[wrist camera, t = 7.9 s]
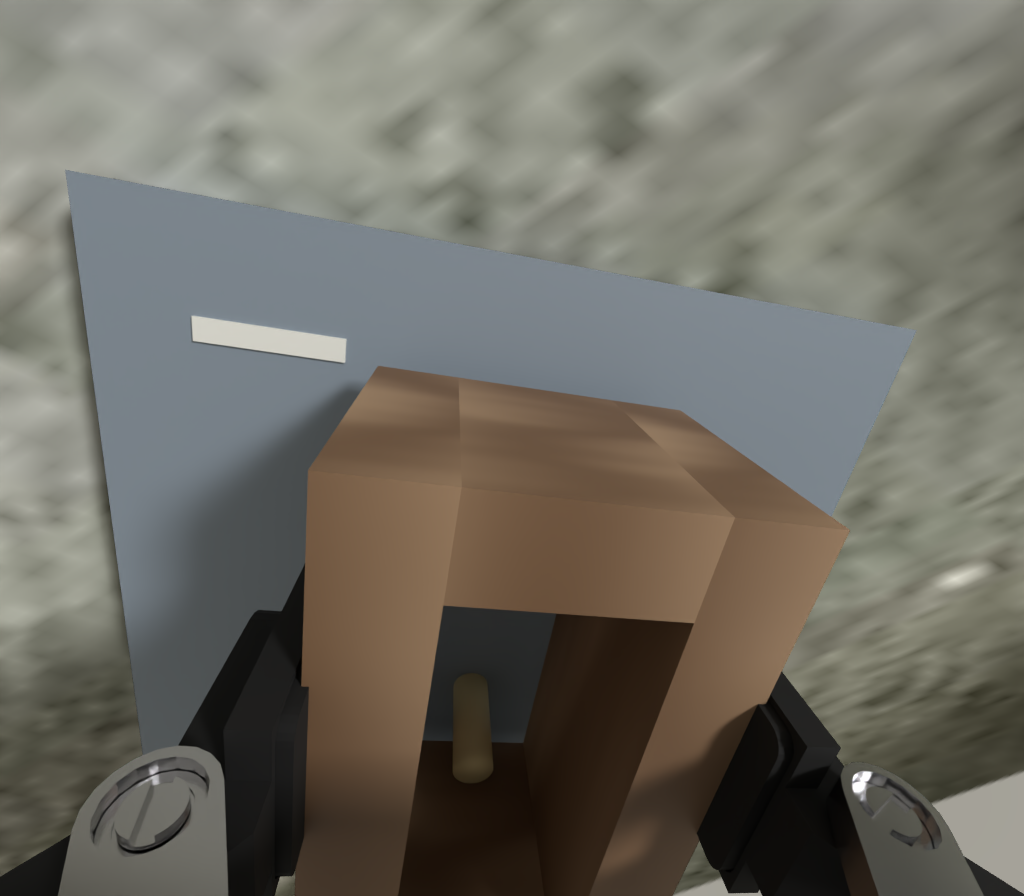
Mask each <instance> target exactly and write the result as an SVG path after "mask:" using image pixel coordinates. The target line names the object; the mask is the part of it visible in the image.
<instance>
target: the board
mask: <svg viewBox="0 0 1024 896" xmlns="http://www.w3.org/2000/svg"><path fill="white" fill-rule="evenodd" d="M65 171H66V179H67V186H68V194H69V201H70V209H71V216H72V224H73V232H74V239H75V247H76V254H77V262H78V269H79V277H80V284H81V292H82V299H83V307H84V314H85V322H86V329H87V337H88V345H89V352H90V360H91V367H92V375H93V382H94V390H95V397H96V405H97V412H98V420H99V427H100V435H101V443H102V450H103V458H104V465H105V473H106V480H107V488H108V495H109V503H110V510H111V518H112V525H113V533H114V541H115V548H116V556H117V563H118V571H119V578H120V586H121V593H122V601H123V608H124V616H125V623H126V631H127V638H128V646H129V654H130V661H131V669H132V676H133V684H134V691H135V699H136V706H137V714H138V721H139V729H140V736H141V744H142V752H143V755H145V754H147V753H150V752H152V751H155V750H157V749H162V748H168V747H173V746H178V745H179V743H180V741H181V739H182V738H183V736H184V734H185V732H186V730H187V729H188V727H189V725H190V723H191V722H192V720H193V718H194V716H195V715H196V713H197V711H198V709H199V708H200V706H201V704H202V702H203V701H204V699H205V697H206V695H207V693H208V692H209V690H210V688H211V686H212V685H213V683H214V681H215V679H216V678H217V676H218V674H219V672H220V671H221V669H222V667H223V665H224V664H225V662H226V660H227V658H228V656H229V655H230V653H231V651H232V649H233V648H234V646H235V644H236V642H237V641H238V639H239V637H240V635H241V634H242V632H243V630H244V628H245V627H246V625H247V623H248V621H249V619H250V618H251V616H252V615H253V614H254V612H256V611H257V610H270V611H282V609H283V607H284V605H285V603H286V601H287V599H288V597H289V595H290V593H291V591H292V589H293V587H294V585H295V583H296V581H297V579H298V577H299V575H300V573H301V571H302V569H303V566H304V564H305V552H306V520H307V488H308V470H309V468H310V467H311V465H312V464H313V462H314V461H315V459H316V458H317V456H318V455H319V453H320V452H321V450H322V449H323V447H324V446H325V444H326V443H327V441H328V440H329V438H330V437H331V435H332V434H333V432H334V431H335V429H336V428H337V426H338V425H339V423H340V422H341V420H342V419H343V417H344V416H345V414H346V413H347V411H348V410H349V408H350V407H351V405H352V404H353V402H354V401H355V399H356V398H357V396H358V395H359V393H360V392H361V390H362V389H363V387H364V386H365V385H366V383H367V382H368V380H369V379H370V377H371V376H372V374H373V373H374V371H375V370H376V368H377V367H378V366H384V367H391V368H397V369H404V370H411V371H418V372H425V373H431V374H438V375H445V376H452V377H458V378H465V379H472V380H479V381H485V382H492V383H499V384H506V385H512V386H519V387H526V388H533V389H540V390H546V391H553V392H560V393H567V394H573V395H580V396H587V397H594V398H600V399H607V400H614V401H621V402H627V403H634V404H641V405H648V406H654V407H661V408H668V409H675V410H681V411H682V412H684V413H685V414H686V415H688V416H689V417H691V418H692V419H693V420H695V421H696V422H698V423H699V424H701V425H702V426H703V427H705V428H706V429H708V430H709V431H710V432H712V433H713V434H715V435H716V436H718V437H719V438H720V439H722V440H723V441H725V442H726V443H727V444H729V445H730V446H732V447H733V448H734V449H736V450H737V451H739V452H740V453H742V454H743V455H744V456H746V457H747V458H749V459H750V460H751V461H753V462H754V463H756V464H757V465H759V466H760V467H761V468H763V469H764V470H766V471H767V472H768V473H770V474H771V475H773V476H774V477H775V478H777V479H778V480H780V481H781V482H783V483H784V484H785V485H787V486H788V487H790V488H791V489H792V490H794V491H795V492H797V493H798V494H800V495H801V496H802V497H804V498H805V499H807V500H808V501H809V502H811V503H812V504H814V505H815V506H817V507H818V508H819V509H821V510H822V511H824V512H825V513H826V514H828V515H829V516H832V514H833V512H834V510H835V508H836V505H837V503H838V501H839V499H840V497H841V495H842V492H843V490H844V488H845V486H846V484H847V481H848V479H849V477H850V475H851V473H852V470H853V468H854V466H855V464H856V462H857V460H858V457H859V455H860V453H861V451H862V449H863V446H864V444H865V442H866V440H867V438H868V436H869V433H870V431H871V429H872V427H873V425H874V422H875V420H876V418H877V416H878V414H879V412H880V409H881V407H882V405H883V403H884V401H885V398H886V396H887V394H888V392H889V390H890V387H891V385H892V383H893V381H894V379H895V377H896V374H897V372H898V370H899V368H900V366H901V363H902V361H903V359H904V357H905V355H906V353H907V350H908V348H909V346H910V344H911V342H912V339H913V337H914V335H915V333H916V331H917V330H912V329H907V328H902V327H896V326H891V325H886V324H880V323H875V322H870V321H864V320H859V319H854V318H849V317H843V316H838V315H833V314H827V313H822V312H817V311H811V310H806V309H801V308H795V307H790V306H785V305H780V304H774V303H769V302H764V301H758V300H753V299H748V298H742V297H737V296H732V295H727V294H721V293H716V292H711V291H705V290H700V289H695V288H689V287H684V286H679V285H673V284H668V283H663V282H658V281H652V280H647V279H642V278H636V277H631V276H626V275H620V274H615V273H610V272H605V271H599V270H594V269H589V268H583V267H578V266H573V265H567V264H562V263H557V262H551V261H546V260H541V259H536V258H530V257H525V256H520V255H514V254H509V253H504V252H498V251H493V250H488V249H483V248H477V247H472V246H467V245H461V244H456V243H451V242H445V241H440V240H435V239H429V238H424V237H419V236H414V235H408V234H403V233H398V232H392V231H387V230H382V229H376V228H371V227H366V226H361V225H355V224H350V223H345V222H339V221H334V220H329V219H323V218H318V217H313V216H307V215H302V214H297V213H292V212H286V211H281V210H276V209H270V208H265V207H260V206H254V205H249V204H244V203H239V202H233V201H228V200H223V199H217V198H212V197H207V196H201V195H196V194H191V193H185V192H180V191H175V190H170V189H164V188H159V187H154V186H148V185H143V184H138V183H132V182H127V181H122V180H117V179H111V178H106V177H101V176H95V175H90V174H85V173H79V172H74V171H69V170H65ZM555 618H556V613H542V612H527V611H513V610H499V609H485V608H471V607H456V606H443V611H442V617H441V623H440V630H439V636H438V643H437V649H436V655H435V662H434V668H433V675H432V681H431V688H430V694H429V700H428V707H427V713H426V720H425V726H424V732H423V739H422V740H427V741H453V775H454V777H455V778H456V779H457V780H459V781H461V782H464V783H478V782H481V781H483V780H485V779H487V778H488V777H489V776H490V775H491V774H492V772H493V755H492V742H507V743H523V741H524V738H525V734H526V730H527V726H528V722H529V718H530V714H531V710H532V707H533V703H534V699H535V695H536V691H537V687H538V683H539V680H540V676H541V672H542V668H543V664H544V660H545V656H546V653H547V649H548V645H549V641H550V637H551V633H552V629H553V626H554V622H555Z"/></svg>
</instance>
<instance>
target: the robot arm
mask: <svg viewBox="0 0 1024 896" xmlns="http://www.w3.org/2000/svg"><path fill="white" fill-rule="evenodd" d="M304 584H305V564H304V566H303V569H302V571H301V573H300V575H299V577H298V579H297V581H296V583H295V585H294V587H293V589H292V591H291V593H290V595H289V597H288V599H287V601H286V603H285V605H284V607H283V609H282V611H270V610H257V611H256V612H254V614H253V615H252V616H251V618H250V619H249V621H248V623H247V625H246V627H245V628H244V630H243V632H242V634H241V635H240V637H239V639H238V641H237V642H236V644H235V646H234V648H233V649H232V651H231V653H230V655H229V656H228V658H227V660H226V662H225V664H224V665H223V667H222V669H221V671H220V672H219V674H218V676H217V678H216V679H215V681H214V683H213V685H212V686H211V688H210V690H209V692H208V693H207V695H206V697H205V699H204V701H203V702H202V704H201V706H200V708H199V709H198V711H197V713H196V715H195V716H194V718H193V720H192V722H191V723H190V725H189V727H188V729H187V730H186V732H185V734H184V736H183V738H182V739H181V741H180V743H179V745H178V746H173V747H168V748H162V749H157V750H155V751H152V752H150V753H147V754H145V755H142V756H140V757H137V758H135V759H133V760H132V761H130V762H129V763H127V764H125V765H124V766H122V767H121V768H119V769H117V770H116V771H114V772H113V773H112V774H111V775H110V776H109V777H108V778H106V779H105V780H104V781H103V782H102V783H101V784H100V785H99V786H98V787H97V788H95V790H94V791H93V792H92V794H91V795H90V796H89V798H88V799H87V800H86V802H85V803H84V804H83V806H82V807H81V809H80V811H79V813H78V816H77V818H76V821H75V823H74V826H73V828H72V832H71V835H70V836H68V837H66V838H65V839H63V840H61V841H60V842H58V843H56V844H55V845H53V846H51V847H50V848H48V849H46V850H44V851H43V852H41V853H39V854H38V855H36V856H34V857H33V858H31V859H29V860H28V861H26V862H24V863H23V864H21V865H19V866H18V867H16V868H14V869H13V870H11V871H9V872H8V873H6V874H4V875H3V876H1V877H0V896H274V895H275V892H276V888H277V885H278V881H279V878H280V876H293V874H294V871H295V869H296V865H297V862H298V858H299V854H300V850H301V847H302V843H303V839H304V822H305V792H306V762H307V732H308V702H309V687H303V686H301V680H302V648H303V616H304ZM840 749H841V748H840V746H839V745H838V744H837V742H836V741H835V740H834V739H833V737H832V736H831V735H830V733H829V732H828V731H827V729H826V728H825V727H824V726H823V724H822V723H821V722H820V720H819V719H818V718H817V717H816V715H815V714H814V713H813V711H812V710H811V709H810V707H809V706H808V705H807V704H806V702H805V701H804V700H803V698H802V697H801V696H800V694H799V693H798V692H797V691H796V689H795V688H794V687H793V685H792V684H791V683H790V682H789V680H788V679H787V678H786V676H785V675H784V674H783V672H781V674H780V676H779V678H778V680H777V682H776V684H775V686H774V688H773V690H772V692H771V694H770V696H769V698H768V700H767V702H766V704H758V705H757V707H756V709H755V711H754V713H753V715H752V717H751V720H750V722H749V724H748V726H747V728H746V730H745V732H744V734H743V736H742V739H741V741H740V743H739V745H738V747H737V749H736V751H735V753H734V755H733V758H732V760H731V762H730V764H729V766H728V768H727V770H726V772H725V774H724V777H723V779H722V781H721V783H720V785H719V787H718V789H717V791H716V793H715V796H714V798H713V800H712V802H711V804H710V806H709V808H708V810H707V812H706V815H705V817H704V819H703V821H702V823H701V825H700V827H699V829H698V831H697V835H698V838H699V840H700V843H701V845H702V848H703V850H704V853H705V855H706V857H707V859H708V861H709V863H710V865H711V866H712V867H713V868H714V869H716V870H719V872H720V874H721V877H722V879H723V881H724V884H725V886H726V888H727V891H728V893H758V891H759V889H760V891H761V894H762V896H1024V894H1023V893H1021V892H1019V891H1018V890H1016V889H1015V888H1013V887H1012V886H1010V885H1008V884H1007V883H1005V882H1004V881H1002V880H1000V879H999V878H997V877H996V876H994V875H993V874H991V873H989V872H988V871H986V870H985V869H983V868H982V867H980V866H978V865H977V864H975V863H974V862H972V861H970V860H969V859H967V858H966V857H964V856H963V854H962V852H961V850H960V848H959V846H958V844H957V842H956V840H955V838H954V836H953V834H952V832H951V831H950V829H949V827H948V825H947V824H946V822H945V821H944V819H943V818H942V816H941V815H940V813H939V812H938V811H937V810H936V809H935V808H934V807H933V805H932V804H931V803H930V802H929V801H928V800H927V799H926V798H925V797H924V796H923V795H922V794H921V793H919V792H918V791H917V790H916V789H915V788H913V787H912V786H911V785H910V784H909V783H907V782H905V781H904V780H902V779H901V778H899V777H898V776H896V775H895V774H893V773H891V772H889V771H887V770H885V769H883V768H881V767H879V766H876V765H872V764H868V763H864V762H851V763H850V764H848V765H846V766H845V767H844V766H843V764H842V763H841V762H840V760H839V759H838V758H837V754H838V752H839V750H840Z"/></svg>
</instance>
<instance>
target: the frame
mask: <svg viewBox="0 0 1024 896" xmlns="http://www.w3.org/2000/svg"><path fill="white" fill-rule="evenodd" d="M849 532H850V530H849V529H848V528H846V527H845V526H843V525H842V524H841V523H839V522H838V521H836V520H835V519H833V518H832V517H831V516H829V515H828V514H826V513H825V512H824V511H822V510H821V509H819V508H818V507H817V506H815V505H814V504H812V503H811V502H809V501H808V500H807V499H805V498H804V497H802V496H801V495H800V494H798V493H797V492H795V491H794V490H792V489H791V488H790V487H788V486H787V485H785V484H784V483H783V482H781V481H780V480H778V479H777V478H775V477H774V476H773V475H771V474H770V473H768V472H767V471H766V470H764V469H763V468H761V467H760V466H759V465H757V464H756V463H754V462H753V461H751V460H750V459H749V458H747V457H746V456H744V455H743V454H742V453H740V452H739V451H737V450H736V449H734V448H733V447H732V446H730V445H729V444H727V443H726V442H725V441H723V440H722V439H720V438H719V437H718V436H716V435H715V434H713V433H712V432H710V431H709V430H708V429H706V428H705V427H703V426H702V425H701V424H699V423H698V422H696V421H695V420H693V419H692V418H691V417H689V416H688V415H686V414H685V413H684V412H682V411H681V410H675V409H668V408H661V407H654V406H648V405H641V404H634V403H627V402H621V401H614V400H607V399H600V398H594V397H587V396H580V395H573V394H567V393H560V392H553V391H546V390H540V389H533V388H526V387H519V386H512V385H506V384H499V383H492V382H485V381H479V380H472V379H465V378H458V377H452V376H445V375H438V374H431V373H425V372H418V371H411V370H404V369H397V368H391V367H384V366H378V367H377V368H376V370H375V371H374V373H373V374H372V376H371V377H370V379H369V380H368V382H367V383H366V385H365V386H364V387H363V389H362V390H361V392H360V393H359V395H358V396H357V398H356V399H355V401H354V402H353V404H352V405H351V407H350V408H349V410H348V411H347V413H346V414H345V416H344V417H343V419H342V420H341V422H340V423H339V425H338V426H337V428H336V429H335V431H334V432H333V434H332V435H331V437H330V438H329V440H328V441H327V443H326V444H325V446H324V447H323V449H322V450H321V452H320V453H319V455H318V456H317V458H316V459H315V461H314V462H313V464H312V465H311V467H310V468H309V470H308V488H307V520H306V552H305V584H304V616H303V648H302V680H301V686H303V687H309V702H308V732H307V762H306V792H305V822H304V839H303V843H302V847H301V850H300V854H299V858H298V862H297V865H296V872H295V896H673V894H674V892H675V889H676V887H677V885H678V883H679V881H680V879H681V877H682V875H683V873H684V871H685V869H686V867H687V865H688V863H689V861H690V859H691V857H692V855H693V852H694V850H695V848H696V846H697V844H698V842H699V838H698V835H697V831H698V829H699V827H700V825H701V823H702V821H703V819H704V817H705V815H706V812H707V810H708V808H709V806H710V804H711V802H712V800H713V798H714V796H715V793H716V791H717V789H718V787H719V785H720V783H721V781H722V779H723V777H724V774H725V772H726V770H727V768H728V766H729V764H730V762H731V760H732V758H733V755H734V753H735V751H736V749H737V747H738V745H739V743H740V741H741V739H742V736H743V734H744V732H745V730H746V728H747V726H748V724H749V722H750V720H751V717H752V715H753V713H754V711H755V709H756V707H757V705H758V704H766V702H767V700H768V698H769V696H770V694H771V692H772V690H773V688H774V686H775V684H776V682H777V680H778V678H779V676H780V674H781V672H782V670H783V668H784V665H785V663H786V661H787V659H788V657H789V655H790V653H791V651H792V649H793V647H794V645H795V643H796V641H797V639H798V637H799V635H800V633H801V631H802V628H803V626H804V624H805V622H806V620H807V618H808V616H809V614H810V612H811V610H812V608H813V606H814V604H815V602H816V600H817V598H818V596H819V594H820V591H821V589H822V587H823V585H824V583H825V581H826V579H827V577H828V575H829V573H830V571H831V569H832V567H833V565H834V563H835V561H836V559H837V557H838V554H839V552H840V550H841V548H842V546H843V544H844V542H845V540H846V538H847V536H848V534H849ZM443 606H456V607H471V608H485V609H499V610H513V611H527V612H542V613H556V618H555V622H554V626H553V629H552V633H551V637H550V641H549V645H548V649H547V653H546V656H545V660H544V664H543V668H542V672H541V676H540V680H539V683H538V687H537V691H536V695H535V699H534V703H533V707H532V710H531V714H530V718H529V722H528V726H527V730H526V734H525V738H524V741H523V743H507V742H492V755H493V772H492V774H491V775H490V776H489V777H488V778H487V779H485V780H483V781H481V782H478V783H464V782H461V781H459V780H457V779H456V778H455V777H454V775H453V741H427V740H422V739H423V732H424V726H425V720H426V713H427V707H428V700H429V694H430V688H431V681H432V675H433V668H434V662H435V655H436V649H437V643H438V636H439V630H440V623H441V617H442V611H443Z"/></svg>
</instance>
